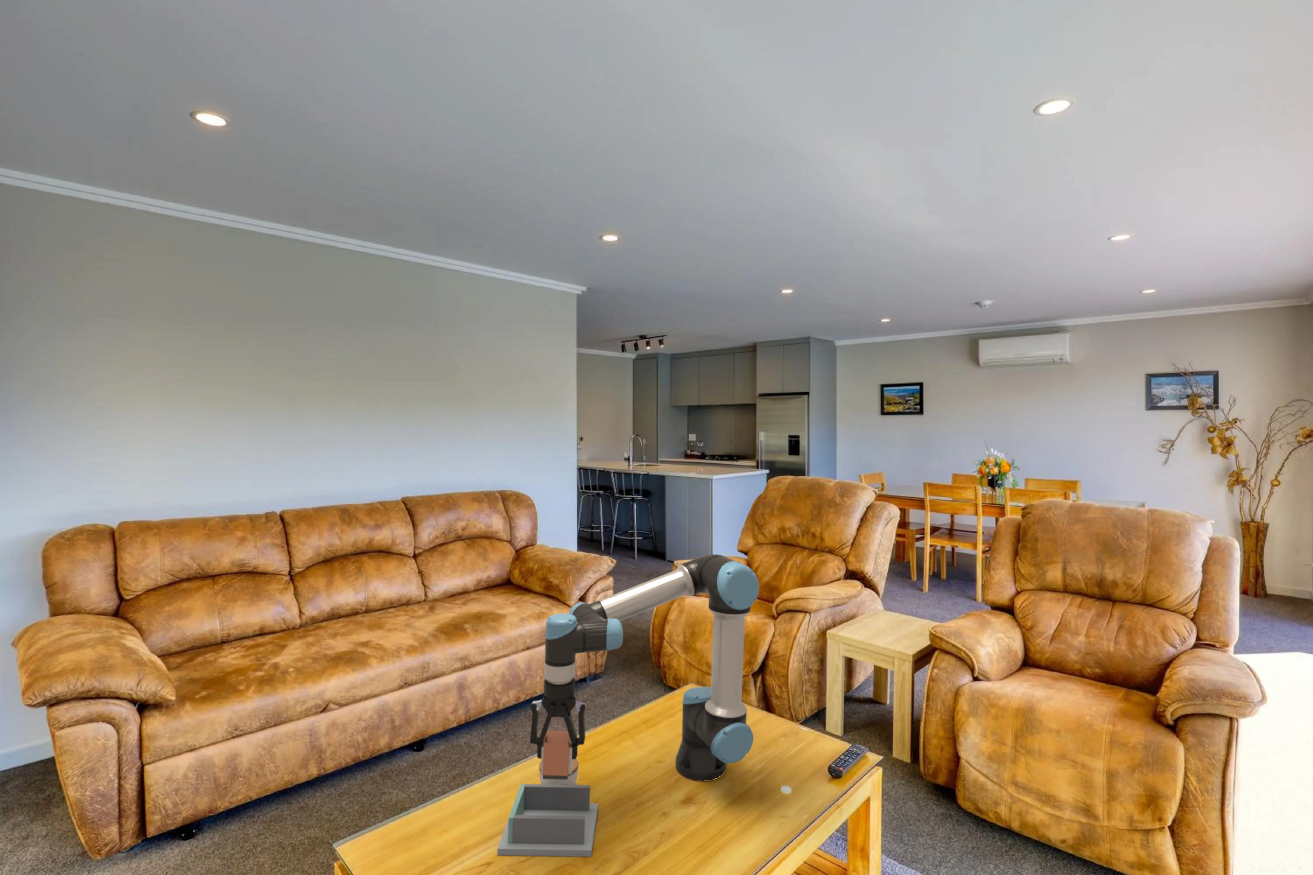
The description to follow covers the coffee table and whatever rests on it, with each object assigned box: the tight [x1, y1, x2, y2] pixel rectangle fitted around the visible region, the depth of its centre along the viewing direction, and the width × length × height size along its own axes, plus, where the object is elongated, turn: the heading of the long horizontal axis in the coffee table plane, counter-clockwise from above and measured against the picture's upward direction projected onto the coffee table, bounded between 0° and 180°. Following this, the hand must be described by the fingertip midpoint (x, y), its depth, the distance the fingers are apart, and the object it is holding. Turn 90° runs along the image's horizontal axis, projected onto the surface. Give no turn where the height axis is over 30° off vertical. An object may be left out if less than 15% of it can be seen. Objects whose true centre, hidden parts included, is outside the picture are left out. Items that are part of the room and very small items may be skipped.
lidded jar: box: [538, 758, 579, 785], centre depth 169 cm, size 11×11×9 cm
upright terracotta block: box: [543, 730, 571, 780], centre depth 152 cm, size 6×6×9 cm
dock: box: [496, 783, 599, 858], centre depth 152 cm, size 22×18×8 cm
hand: (556, 770), depth 152 cm, fingers closed on upright terracotta block, 6 cm apart
